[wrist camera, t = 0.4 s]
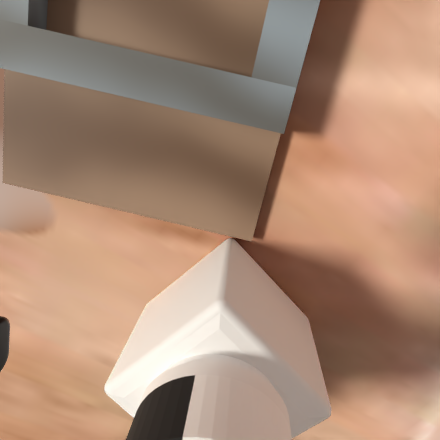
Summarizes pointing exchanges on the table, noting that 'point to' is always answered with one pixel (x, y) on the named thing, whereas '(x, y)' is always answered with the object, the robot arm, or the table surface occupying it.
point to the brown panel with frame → (152, 102)
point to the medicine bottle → (220, 358)
